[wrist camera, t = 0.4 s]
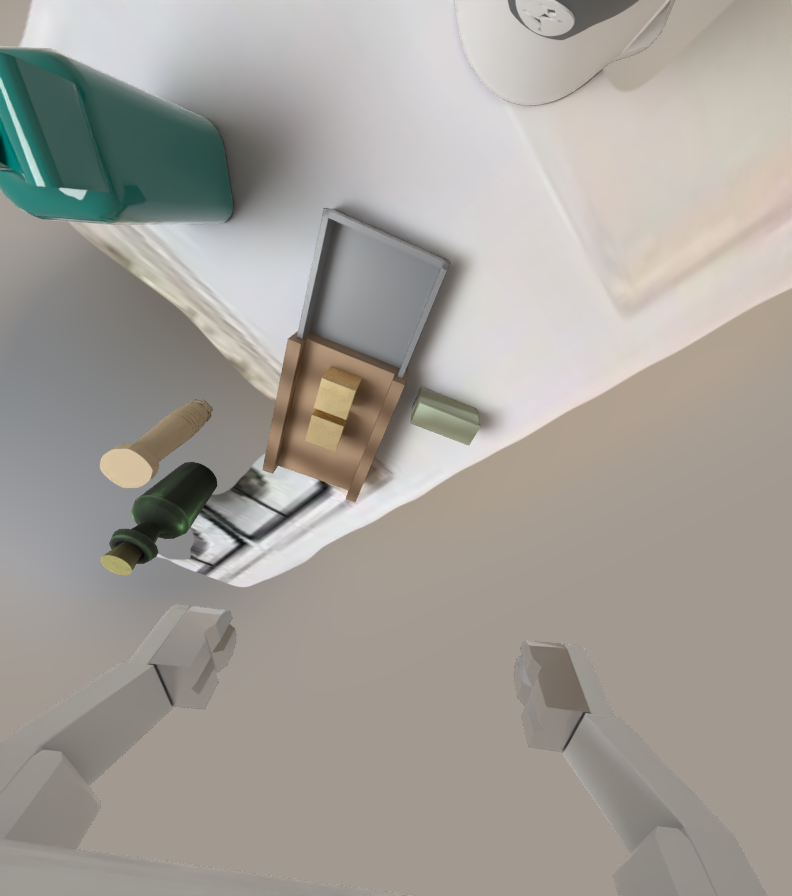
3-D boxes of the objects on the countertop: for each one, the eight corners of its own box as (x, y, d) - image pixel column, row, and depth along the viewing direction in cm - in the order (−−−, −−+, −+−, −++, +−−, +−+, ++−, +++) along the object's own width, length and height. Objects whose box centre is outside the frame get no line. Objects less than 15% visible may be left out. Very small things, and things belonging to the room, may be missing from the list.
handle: (229, 411, 50) (161, 474, 38) (201, 429, 53) (127, 494, 40) (204, 384, 48) (123, 440, 36) (176, 404, 51) (90, 464, 38)
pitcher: (163, 219, 38) (-96, 217, 19) (135, 113, 33) (-241, -23, 15) (251, 225, 37) (69, 229, 19) (235, 118, 32) (-27, -16, 14)
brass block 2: (321, 400, 44) (311, 414, 41) (350, 411, 45) (343, 426, 42) (314, 425, 47) (304, 440, 43) (342, 435, 47) (335, 451, 44)
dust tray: (333, 209, 36) (323, 208, 33) (448, 260, 37) (449, 264, 34) (306, 329, 43) (297, 337, 40) (404, 368, 44) (402, 378, 41)
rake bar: (421, 386, 45) (419, 402, 41) (476, 408, 46) (480, 426, 42) (412, 405, 47) (410, 423, 43) (466, 426, 48) (468, 445, 44)
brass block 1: (331, 365, 42) (321, 378, 38) (362, 377, 42) (355, 391, 39) (323, 393, 44) (313, 407, 41) (352, 405, 44) (346, 419, 41)
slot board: (302, 327, 43) (288, 338, 38) (407, 369, 44) (404, 385, 40) (276, 450, 53) (262, 470, 49) (361, 481, 55) (355, 502, 51)
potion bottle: (166, 473, 58) (73, 560, 43) (188, 448, 55) (95, 533, 40) (208, 502, 61) (133, 593, 46) (232, 479, 58) (160, 570, 43)
